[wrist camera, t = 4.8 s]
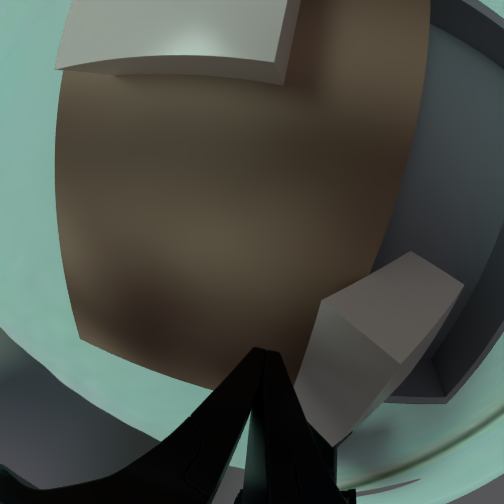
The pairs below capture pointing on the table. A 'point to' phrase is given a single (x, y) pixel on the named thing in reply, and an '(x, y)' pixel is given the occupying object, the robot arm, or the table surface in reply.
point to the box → (456, 194)
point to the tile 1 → (180, 38)
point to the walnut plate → (236, 191)
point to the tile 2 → (371, 342)
